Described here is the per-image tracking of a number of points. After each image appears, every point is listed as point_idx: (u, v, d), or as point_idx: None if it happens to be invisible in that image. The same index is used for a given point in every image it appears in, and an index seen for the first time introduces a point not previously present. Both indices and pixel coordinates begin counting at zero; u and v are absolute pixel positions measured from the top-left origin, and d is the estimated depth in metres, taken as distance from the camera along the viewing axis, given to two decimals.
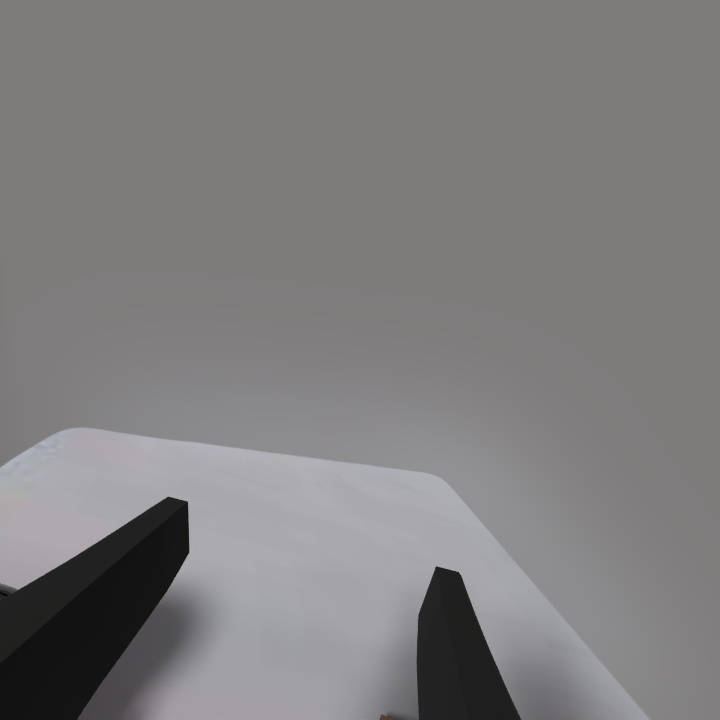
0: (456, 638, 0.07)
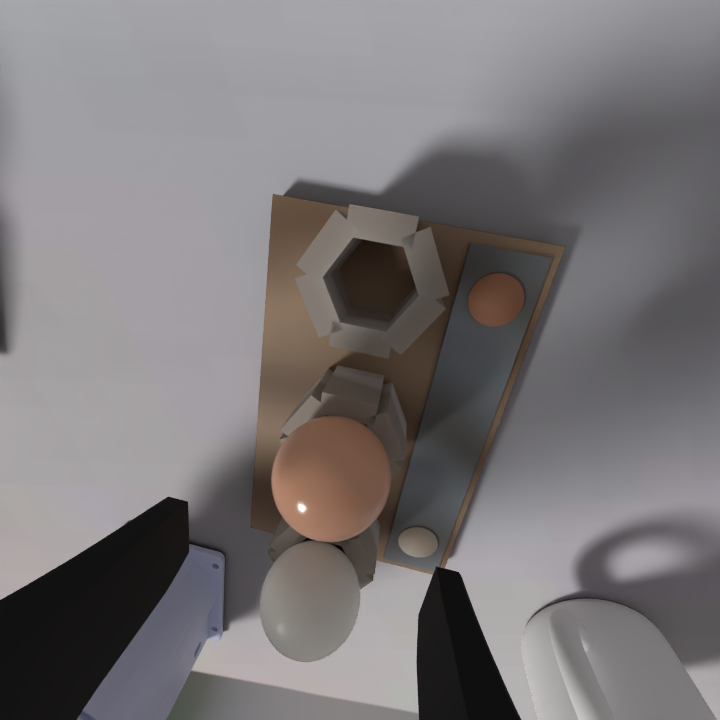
0: (456, 638, 0.07)
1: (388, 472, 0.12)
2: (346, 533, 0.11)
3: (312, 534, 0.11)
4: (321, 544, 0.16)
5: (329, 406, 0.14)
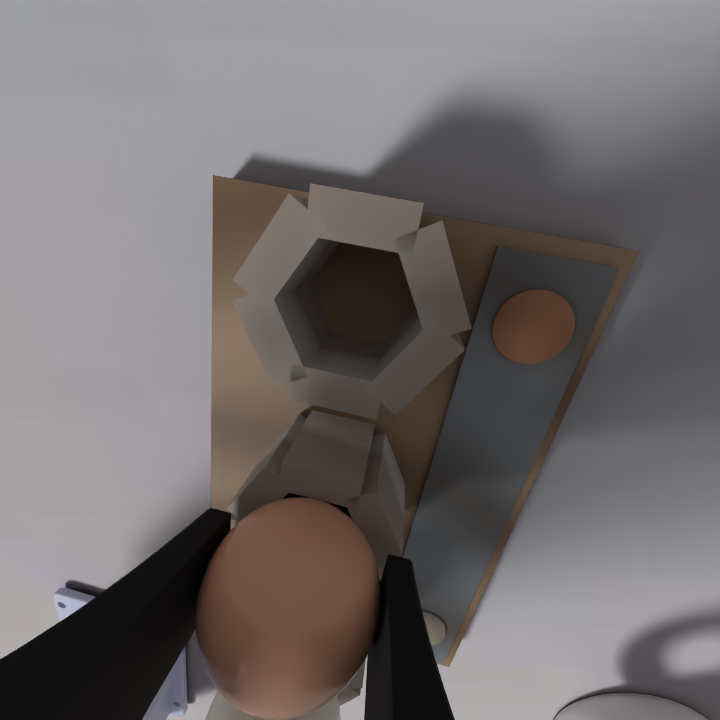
0: (396, 622, 0.07)
1: (375, 598, 0.08)
2: (306, 713, 0.07)
3: (252, 715, 0.07)
4: None
5: (293, 481, 0.10)
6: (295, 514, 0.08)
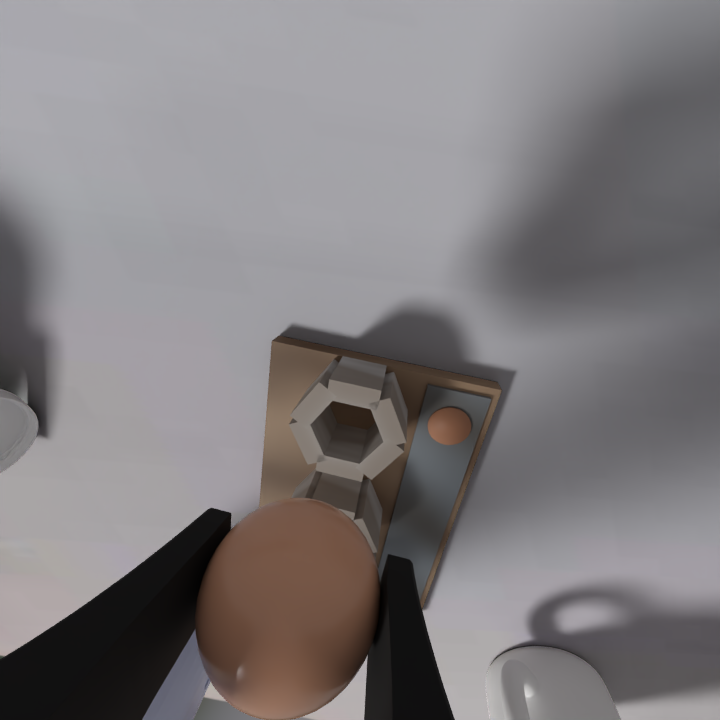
0: (396, 622, 0.07)
1: (375, 598, 0.08)
2: (306, 714, 0.07)
3: (251, 715, 0.07)
4: None
5: None
6: (295, 514, 0.08)
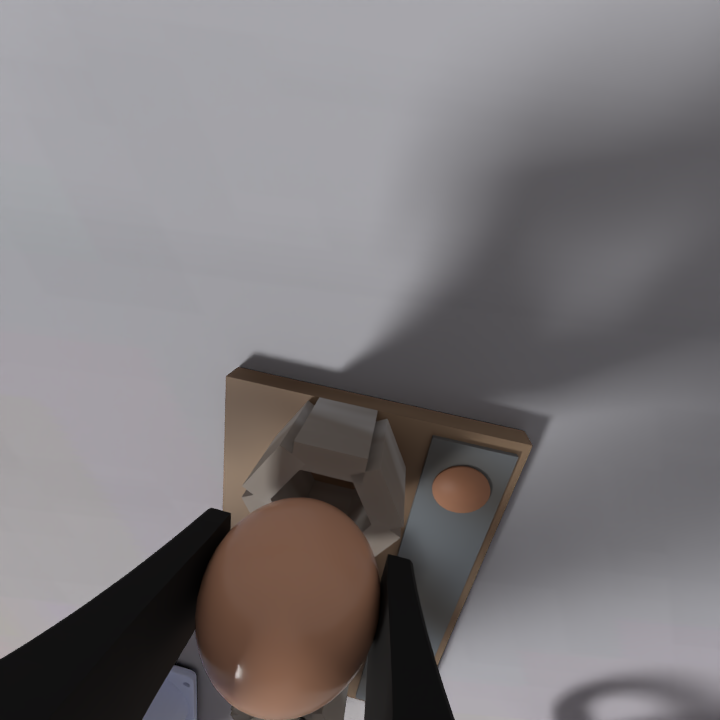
0: (396, 622, 0.07)
1: (375, 598, 0.08)
2: (306, 713, 0.07)
3: (251, 715, 0.07)
4: None
5: None
6: (295, 514, 0.08)
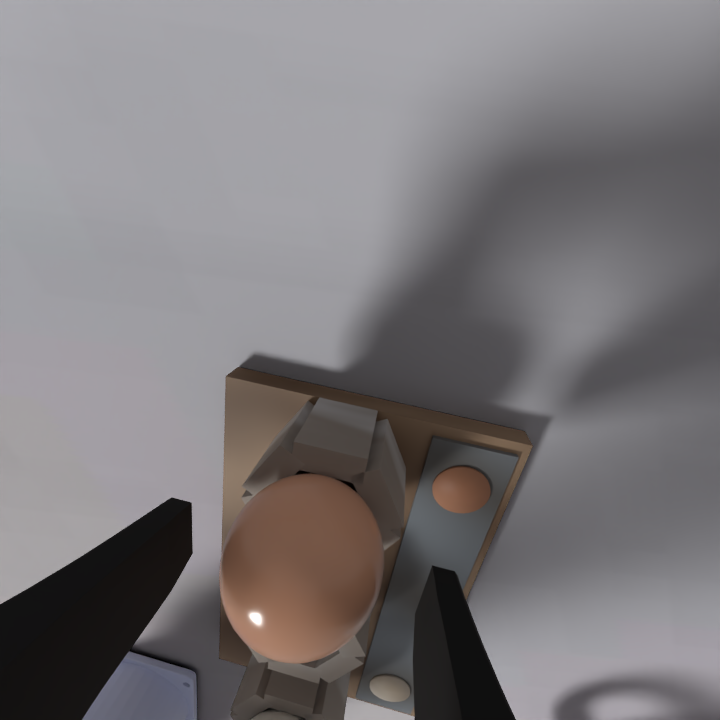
0: (451, 637, 0.07)
1: (380, 558, 0.09)
2: (321, 656, 0.08)
3: (272, 658, 0.08)
4: None
5: None
6: (307, 485, 0.09)
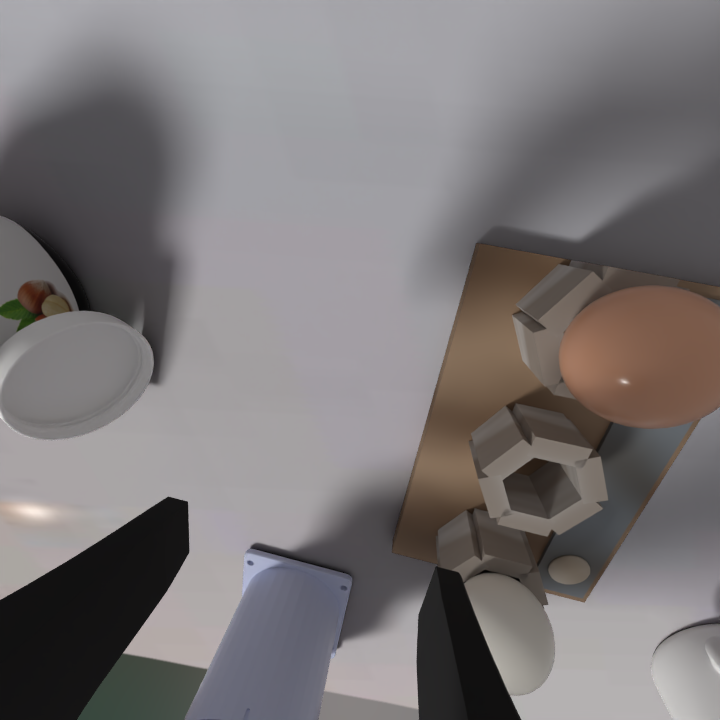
0: (456, 638, 0.07)
1: None
2: (714, 407, 0.09)
3: (673, 408, 0.09)
4: (506, 578, 0.16)
5: (539, 449, 0.14)
6: (656, 285, 0.10)
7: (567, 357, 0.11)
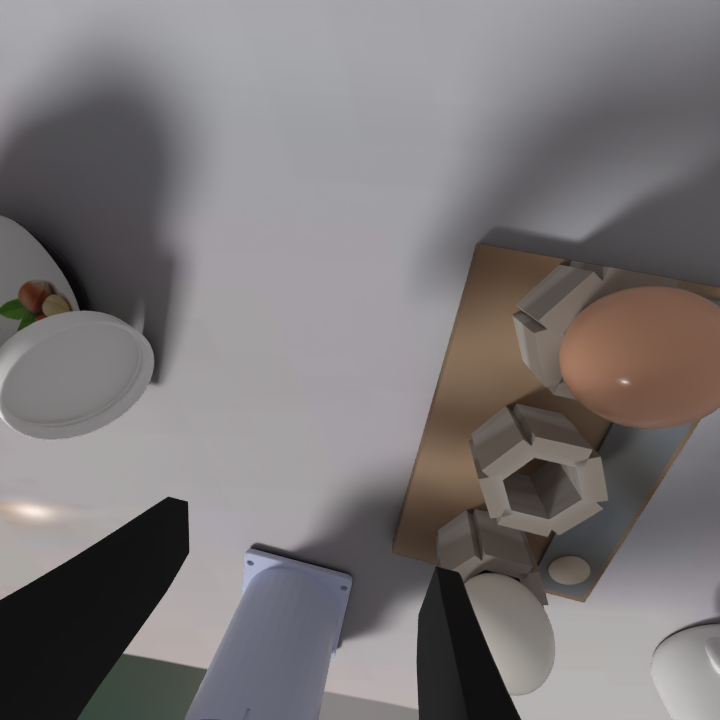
0: (457, 638, 0.07)
1: None
2: (714, 407, 0.09)
3: (674, 408, 0.09)
4: (506, 578, 0.16)
5: (540, 450, 0.14)
6: (656, 286, 0.10)
7: (567, 357, 0.11)
